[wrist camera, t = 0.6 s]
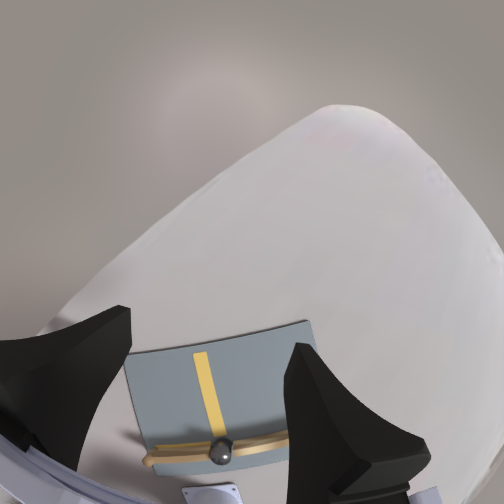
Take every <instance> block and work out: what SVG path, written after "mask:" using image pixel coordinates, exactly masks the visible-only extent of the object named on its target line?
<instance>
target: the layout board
mask: <svg viewBox="0 0 504 504" xmlns="http://www.w3.org/2000/svg"><path fill="white" fill-rule="evenodd" d="M296 342H299V343H307V344H310V345H311V346H312V347H313V349H314V350H315V351H316V353H317V348H316V344H315V340H314V336H313V332H312V328H311V324H310V320H309V321H306V322H302V323H298V324H294V325H290V326H286V327H282V328H278V329H274V330H270V331H265V332H261V333H256V334H252V335H247V336H243V337H238V338H233V339H228V340H223V341H218V342H212V343H207V344H201V345H196V346H190V347H184V348H177V349H171V350H164V351H157V352H150V353H142V354H134V355H127V357H126V360H125V362H124V365H125V370H126V375H127V380H128V384H129V388H130V393H131V397H132V401H133V404H134V408H135V412H136V416H137V419H138V423H139V426H140V429H141V432H142V436H143V439H144V442H145V445H146V448H147V451H148V453H149V452H150V451H151V449H152V448H154V447H157V448H176V447H190V446H200V445H209V444H211V445H212V449H213V446H214V442H215V441H216V440H217V439H218V438H227V439H229V440H230V441H231V442H232V450H233V441H236V440H242V439H247V438H252V437H257V436H262V435H267V434H271V433H275V432H279V431H283V430H287V421H286V413H285V405H284V396H283V385H284V374H285V371H286V369H287V366H288V363H289V360H290V358H291V355H292V352H293V349H294V346H295V343H296ZM317 354H318V353H317ZM288 459H289V446H286V447H282V448H277V449H273V450H269V451H264V452H259V453H254V454H249V455H243V456H238V457H234V454H233V451H232V454H231V461H230V462H229V463H228V464H227V465H223V466H221V465H217V464H215V463H213V462H212V460H211V459H210V460H208V461H198V462H184V463H155V464H153V467H154V470H155V473H156V475H157V476H178V475H196V474H208V473H217V472H226V471H233V470H239V469H246V468H251V467H257V466H262V465H266V464H271V463H276V462H280V461H284V460H288Z"/></svg>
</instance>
